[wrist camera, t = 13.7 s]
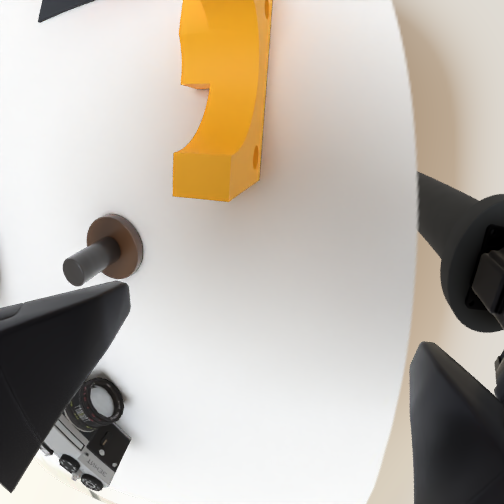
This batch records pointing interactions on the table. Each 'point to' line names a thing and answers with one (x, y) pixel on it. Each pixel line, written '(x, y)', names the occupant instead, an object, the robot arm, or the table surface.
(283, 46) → the table surface
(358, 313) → the table surface
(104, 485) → the camera
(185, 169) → the pipe clamp
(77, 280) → the stake
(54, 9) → the mat
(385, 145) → the table surface
